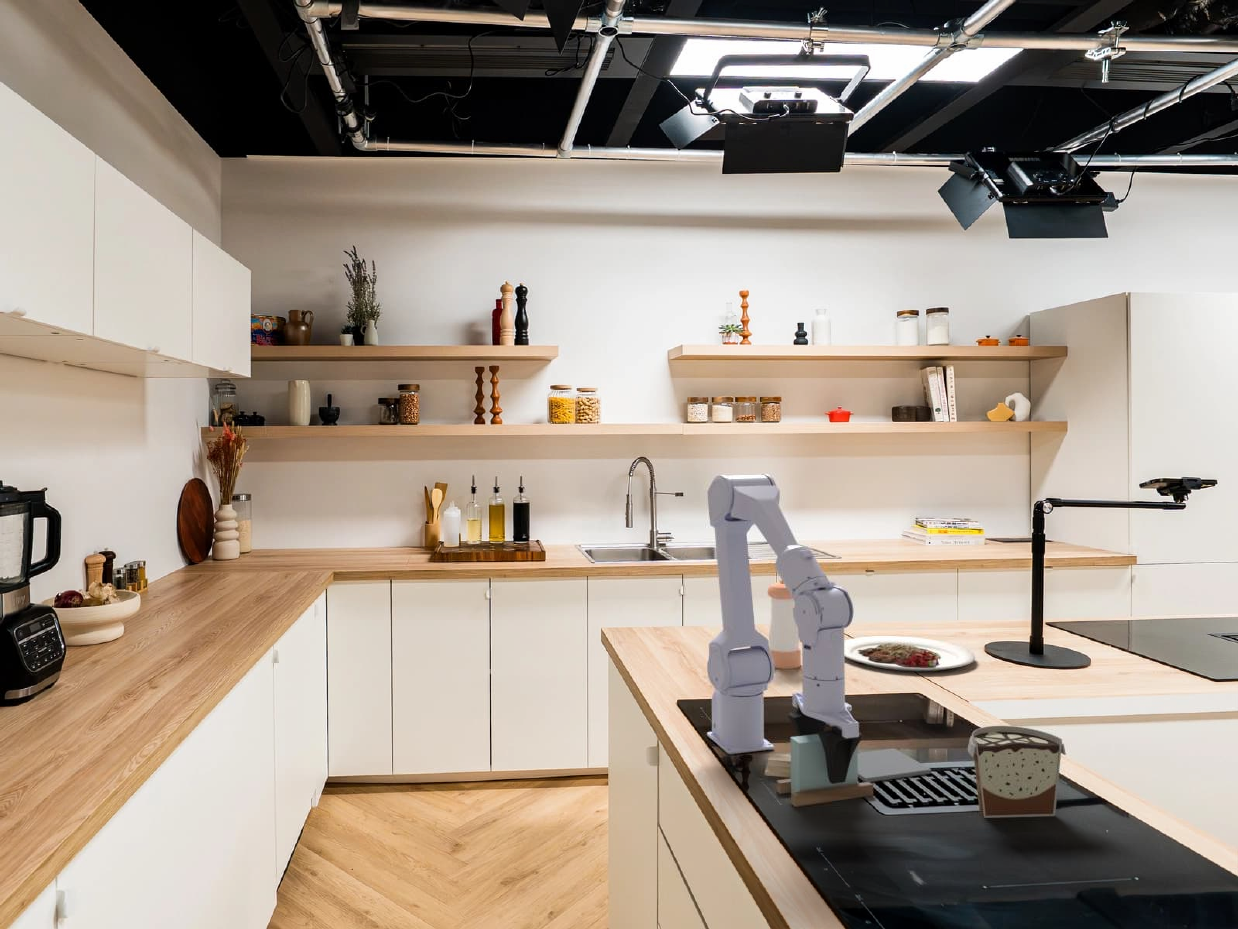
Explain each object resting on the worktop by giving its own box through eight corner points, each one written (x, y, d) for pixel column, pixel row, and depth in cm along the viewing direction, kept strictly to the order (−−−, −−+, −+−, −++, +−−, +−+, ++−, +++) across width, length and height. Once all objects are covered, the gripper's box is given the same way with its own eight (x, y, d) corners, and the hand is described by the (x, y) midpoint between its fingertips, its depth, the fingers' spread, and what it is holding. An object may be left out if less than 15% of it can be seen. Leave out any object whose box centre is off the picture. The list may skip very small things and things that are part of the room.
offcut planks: (766, 769, 122) (766, 752, 122) (835, 776, 120) (834, 757, 120) (764, 777, 120) (764, 759, 120) (834, 784, 117) (834, 765, 117)
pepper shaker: (798, 660, 185) (797, 577, 185) (802, 669, 178) (801, 582, 178) (766, 660, 186) (765, 577, 186) (769, 668, 178) (768, 582, 178)
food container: (1040, 795, 111) (1039, 723, 111) (1066, 815, 105) (1065, 739, 105) (951, 798, 111) (951, 725, 111) (972, 818, 105) (972, 741, 105)
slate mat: (832, 760, 125) (832, 756, 125) (894, 752, 128) (894, 748, 128) (865, 782, 116) (865, 778, 116) (931, 773, 119) (931, 769, 119)
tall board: (791, 794, 113) (790, 737, 113) (848, 786, 115) (847, 730, 115) (799, 801, 110) (799, 743, 110) (857, 793, 113) (857, 736, 113)
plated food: (892, 638, 208) (892, 625, 208) (1002, 662, 182) (1002, 647, 182) (809, 655, 191) (809, 640, 191) (918, 684, 166) (918, 668, 166)
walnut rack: (776, 791, 114) (776, 780, 114) (851, 780, 117) (851, 770, 117) (794, 806, 109) (794, 795, 109) (873, 795, 112) (872, 784, 112)
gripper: (878, 687, 107) (879, 789, 107) (822, 660, 121) (823, 751, 121) (831, 691, 105) (832, 796, 105) (779, 664, 119) (780, 756, 119)
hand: (824, 772), depth 113 cm, fingers open, 6 cm apart
